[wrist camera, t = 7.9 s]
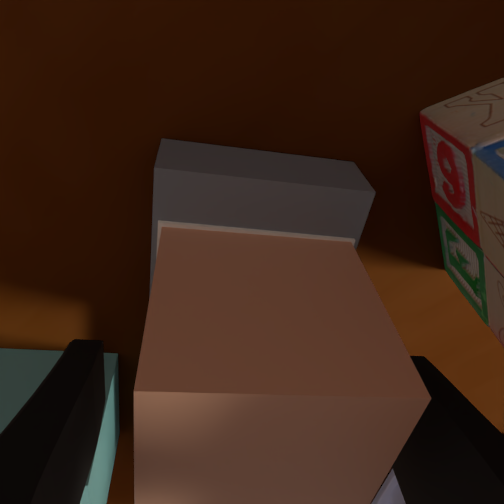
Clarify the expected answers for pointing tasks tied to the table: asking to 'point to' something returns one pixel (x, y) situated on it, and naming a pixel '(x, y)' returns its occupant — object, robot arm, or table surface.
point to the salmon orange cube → (267, 374)
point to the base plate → (256, 193)
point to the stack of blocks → (470, 193)
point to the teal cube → (28, 380)
